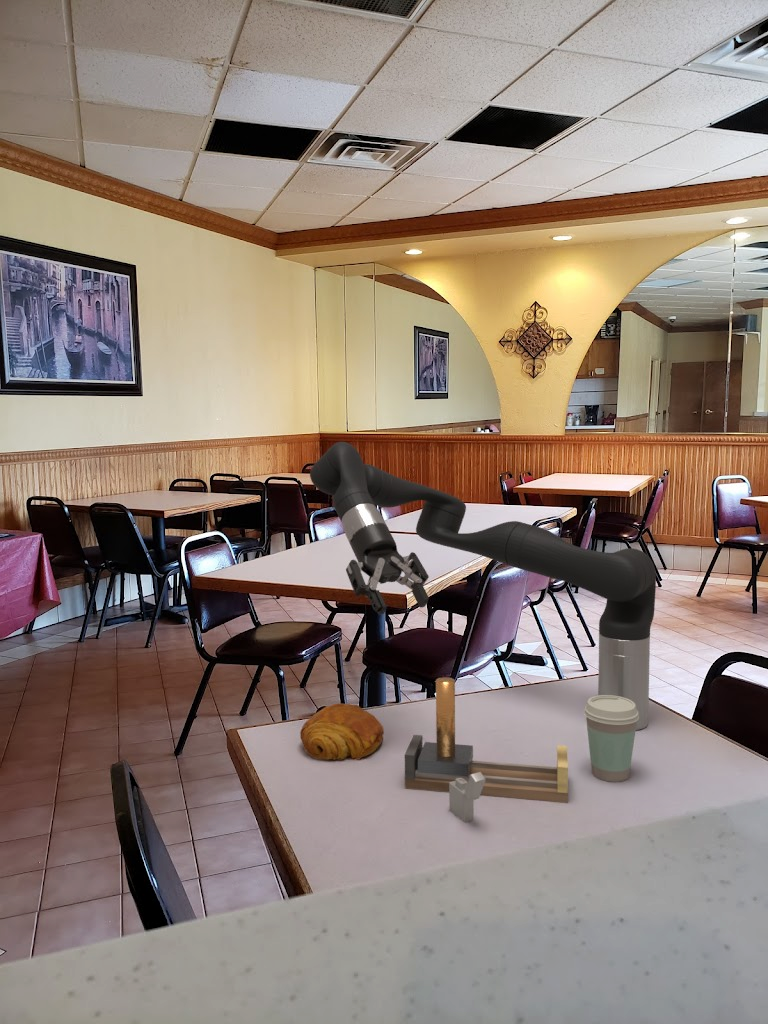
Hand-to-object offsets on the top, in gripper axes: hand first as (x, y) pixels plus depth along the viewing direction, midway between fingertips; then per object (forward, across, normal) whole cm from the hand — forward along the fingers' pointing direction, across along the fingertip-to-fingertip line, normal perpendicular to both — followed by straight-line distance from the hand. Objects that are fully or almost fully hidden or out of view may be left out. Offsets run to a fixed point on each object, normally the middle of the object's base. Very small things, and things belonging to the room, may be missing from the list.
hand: (404, 608), depth 128 cm
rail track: (+30, -5, -7) cm, 31 cm away
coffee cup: (+36, -23, -1) cm, 43 cm away
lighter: (+35, +5, -2) cm, 35 cm away
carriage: (+25, 0, -8) cm, 26 cm away
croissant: (+12, +7, -26) cm, 29 cm away
